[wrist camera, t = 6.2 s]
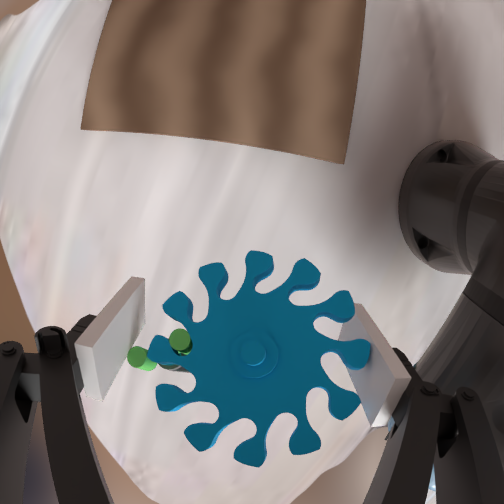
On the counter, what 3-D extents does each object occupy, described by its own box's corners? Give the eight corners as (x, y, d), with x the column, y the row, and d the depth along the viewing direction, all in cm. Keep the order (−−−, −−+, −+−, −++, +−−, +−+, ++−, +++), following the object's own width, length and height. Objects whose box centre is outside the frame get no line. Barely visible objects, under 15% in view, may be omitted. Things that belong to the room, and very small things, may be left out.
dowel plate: (361, -14, 23) (391, -52, 14) (338, 163, 29) (372, 167, 21) (136, -38, 21) (110, -77, 13) (89, 130, 28) (40, 125, 19)
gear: (364, 242, 14) (372, 467, 9) (347, 288, 19) (348, 448, 14) (140, 246, 15) (112, 444, 11) (178, 288, 21) (162, 437, 16)
